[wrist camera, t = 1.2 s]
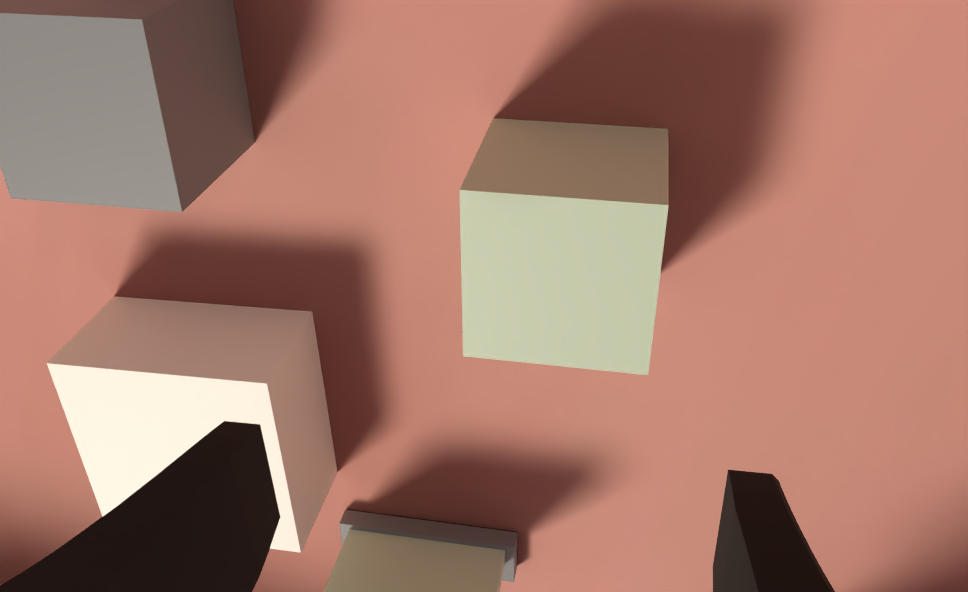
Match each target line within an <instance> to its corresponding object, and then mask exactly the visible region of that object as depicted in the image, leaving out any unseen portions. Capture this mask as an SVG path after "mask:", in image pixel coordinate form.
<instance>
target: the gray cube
mask: <svg viewBox="0 0 968 592" xmlns="http://www.w3.org/2000/svg"><path fill="white" fill-rule="evenodd" d="M254 143H255V138H254V132H253V125H252V119H251V112H250V106H249V99H248V93H247V86H246V80H245V73H244V67H243V60H242V54H241V47H240V40H239V34H238V27H237V21H236V14H235V8H234V1H233V0H0V166H1V170H2V173H3V176H4V179H5V182H6V185H7V188H8V191H9V194H10V198H14V199H26V200H39V201H51V202H64V203H76V204H88V205H101V206H113V207H126V208H138V209H151V210H163V211H175V212H183V211H184V210H185V209H186V208H187V207H188V206H189V205H190V204H191V203H192V202H193V201H194V200H195V199H196V198H197V197H198V196H199V195H200V194H201V193H202V192H204V191H205V190H206V189H207V188H208V187H209V186H210V185H211V184H212V183H213V182H214V181H215V180H216V179H217V178H218V177H219V176H220V175H221V174H222V173H223V172H224V171H225V170H226V169H228V168H229V167H230V166H231V165H232V164H233V163H234V162H235V161H236V160H237V159H238V158H239V157H240V156H241V155H242V154H243V153H244V152H245V151H246V150H247V149H248V148H249V147H251V146H252V145H253V144H254Z"/></svg>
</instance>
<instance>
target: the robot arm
mask: <svg viewBox="0 0 968 592" xmlns="http://www.w3.org/2000/svg"><path fill="white" fill-rule="evenodd" d="M279 519H280V513H279V509H278V504H277V500H276V495H275V490H274V486H273V481H272V477H271V472H270V467H269V463H268V458H267V454H266V449H265V444H264V440H263V435H262V431H261V426H260V424H250V423H240V422H230V421H224V422H222V423H221V424H220V425H219V426H217V427H216V428H215V429H213V430H212V431H211V432H209V433H208V434H207V435H206V436H204V437H203V438H202V439H201V440H199V441H198V442H197V443H196V444H194V445H193V446H192V447H191V448H190V449H188V450H187V451H186V452H185V453H183V454H182V455H181V456H180V457H178V458H177V459H176V460H175V461H174V462H172V463H171V464H170V465H169V466H167V467H166V468H165V469H164V470H162V471H161V472H160V473H159V474H157V475H156V476H155V477H154V478H152V479H151V480H150V481H149V482H147V483H146V484H145V485H143V486H142V487H141V488H140V489H138V490H137V491H136V492H135V493H133V494H132V495H131V496H129V497H128V498H127V499H126V500H124V501H123V502H122V503H121V504H119V505H118V506H117V507H115V508H114V509H113V510H111V511H110V512H108V513H107V514H106V515H104V516H103V517H102V518H100V519H99V520H97V521H96V522H95V523H93V524H92V525H90V526H89V527H88V528H86V529H85V530H84V531H82V532H81V533H79V534H78V535H77V536H75V537H74V538H73V539H71V540H70V541H68V542H67V543H66V544H64V545H63V546H61V547H60V548H59V549H57V550H56V551H54V552H53V553H51V554H50V555H48V556H47V557H45V558H44V559H42V560H41V561H39V562H38V563H36V564H35V565H33V566H32V567H30V568H28V569H27V570H25V571H24V572H22V573H20V574H19V575H17V576H16V577H14V578H12V579H11V580H9V581H7V582H6V583H4V584H3V585H1V586H0V592H252V590H253V588H254V586H255V584H256V582H257V580H258V578H259V576H260V573H261V571H262V568H263V565H264V563H265V560H266V557H267V555H268V552H269V549H270V546H271V543H272V540H273V537H274V534H275V531H276V528H277V525H278V522H279ZM713 592H835V591H834V589H833V588H832V586H831V584H830V583H829V581H828V579H827V578H826V576H825V574H824V572H823V571H822V569H821V567H820V565H819V564H818V562H817V560H816V558H815V556H814V554H813V553H812V551H811V549H810V547H809V545H808V543H807V541H806V539H805V537H804V535H803V533H802V531H801V529H800V527H799V525H798V523H797V521H796V519H795V517H794V515H793V513H792V511H791V509H790V506H789V504H788V502H787V500H786V497H785V495H784V493H783V491H782V488H781V486H780V483H779V481H778V480H777V479H776V478H775V477H774V476H773V475H772V474H766V473H755V472H745V471H735V470H728V475H727V481H726V487H725V494H724V500H723V506H722V513H721V519H720V525H719V532H718V538H717V544H716V551H715V557H714V563H713Z"/></svg>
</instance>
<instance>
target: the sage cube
mask: <svg viewBox="0 0 968 592" xmlns="http://www.w3.org/2000/svg"><path fill="white" fill-rule="evenodd" d="M668 206H669V137H668V129H664V128H648V127H631V126H615V125H598V124H582V123H565V122H549V121H532V120H516V119H499V118H493V120H492V122H491V124H490V126H489V128H488V130H487V133H486V135H485V137H484V139H483V141H482V143H481V145H480V148H479V150H478V152H477V154H476V156H475V158H474V160H473V163H472V165H471V167H470V169H469V171H468V173H467V175H466V177H465V180H464V182H463V184H462V186H461V188H460V229H461V276H462V324H463V356H466V357H476V358H486V359H496V360H505V361H515V362H525V363H535V364H544V365H554V366H564V367H574V368H583V369H593V370H603V371H613V372H622V373H632V374H642V375H648V372H649V364H650V355H651V347H652V339H653V330H654V322H655V314H656V306H657V297H658V289H659V281H660V273H661V264H662V256H663V248H664V239H665V231H666V223H667V215H668Z"/></svg>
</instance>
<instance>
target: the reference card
mask: <svg viewBox="0 0 968 592" xmlns="http://www.w3.org/2000/svg"><path fill="white" fill-rule="evenodd" d="M340 530H341V538H342V545H343V546H342V548H341V551H340V553H339V556H338V558H337V561H336V563H335V565H334V568H333V570H332V573H331V575H330V578H329V580H328V583H327V585H326V588H325V590H324V592H499V590H500V585H501V580H503V581H510V582H514V579H515V574H516V568H517V533H518V532H510V531H503V530H495V529H488V528H480V527H473V526H465V525H458V524H450V523H443V522H435V521H427V520H420V519H412V518H405V517H397V516H390V515H382V514H375V513H367V512H360V511H352V510H345V512H344V514H343V517H342V519H341V521H340Z"/></svg>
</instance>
